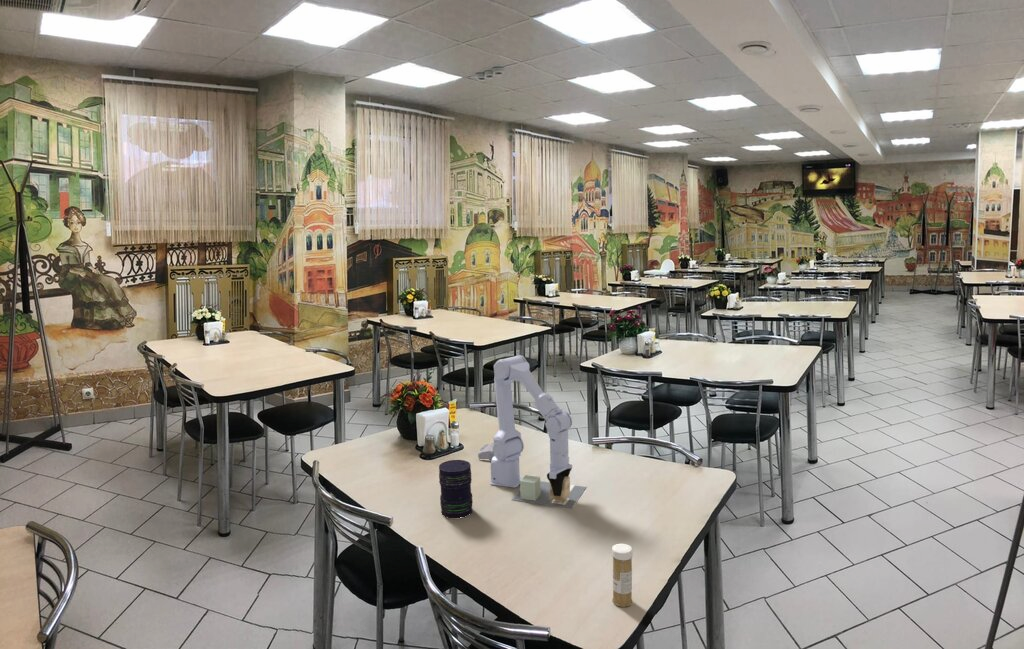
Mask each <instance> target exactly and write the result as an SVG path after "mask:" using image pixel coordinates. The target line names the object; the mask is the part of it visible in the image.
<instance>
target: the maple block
mask: <svg viewBox="0 0 1024 649" xmlns="http://www.w3.org/2000/svg"><path fill="white" fill-rule="evenodd" d="M570 479H571V477H570V476H569V477H567V476H565V478H564V481H563V485H562V492H561V496H554V494H553V490H552V487H551V484H550V499H554V500H561V501H566V500H567V498H568V497H569V495H570V485H571V480H570Z"/></svg>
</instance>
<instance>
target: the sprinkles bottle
mask: <svg viewBox="0 0 1024 649" xmlns="http://www.w3.org/2000/svg"><path fill="white" fill-rule="evenodd" d="M611 547H612V550H611V555H612V603H613V604H614V605H615V606H616V607H620V608H626V606H627V607H630V606H631V605H632V604H633V599H632V598H633V597H632V595H633V594H632V590H633V565H632V561H633V560H632V559H633V548H632V546H631V545H629V544H626V543H617V544H614V545H612V546H611ZM629 605H630V606H629Z"/></svg>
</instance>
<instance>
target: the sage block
mask: <svg viewBox="0 0 1024 649" xmlns="http://www.w3.org/2000/svg"><path fill="white" fill-rule="evenodd" d="M521 478H522V480H521V481H520V484H519V485H520V489H519V491H520V494H521V499H525V500H533V501H536V499H537V498H538V497H539V496H540V495H541V493H540V481H541V476H534V475H524V476H523V477H521Z"/></svg>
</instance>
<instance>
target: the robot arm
mask: <svg viewBox="0 0 1024 649" xmlns="http://www.w3.org/2000/svg"><path fill="white" fill-rule="evenodd" d="M493 373H494V378H493V381H494V382H493V383H494V393H495V402H496V413H497V424H498V431H497V432H496V433H495V435H494V437H492V438H493V443H494V444H493V453H494V455H495V456H494V457H493V458H492V461H490V481H491V482H490V483H489V484H490V485H491V486H500V487H509V488H512V489H513V488H517V487H518V486H519V485H520V481H521V480H522V478H523V477H520V476H521V471H520V457H521V456H522V455H521V453H522V452H523V451H524V448H525V444H524V441H523V438H522V433H521V432H520V431H519V430H517V429H516V425H515V414H514V413H515V412H514V404H513V394H512V393H513V392H512V383H513V382H520V383H521V385H522V386H523V387H524V388H525V389H526V391H528V393H529V394H530V395H531V397H532V398H533V399H534V404H533V405H534V407H535V408H536V409H537V410H538V412H539V413H540V415H541V416H542V417H543V419H544V421H545V424H544V425H545V428H546V431H547V432H548V433H547V434H548V438H549V453H550V454H549V455H550V458H549V459H550V463H549V472H548V473H547V474H546V478H547V480H548V482H550V484H551V487H552V490H553V494H554V496H561V492H562V485H563V481H564V478H565V476H567V477H570V473H571V471H572V469H573V464H572V463H570V455H569V429H571V427H572V424H573V420H572V417H571V416H570V413H569V412H567V411H565V410H563V409H562V408H560V407H559V406H558V404H557V402H555V400H554V399H553V397H552V395H550V394H549V393H546V392H544V391H543V390H542V388H541V386H540V385H539V383H538V381H537V380H536V378H535V377H534V376H533V374H532V372H531V370H530V363H529V362H528V361H527V359H526V357H525V356H523V355H521V354H518V355H515V356H511V357H506V358H500V359H498V360H497V361H496V362H495V363H494V364H493Z"/></svg>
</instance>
